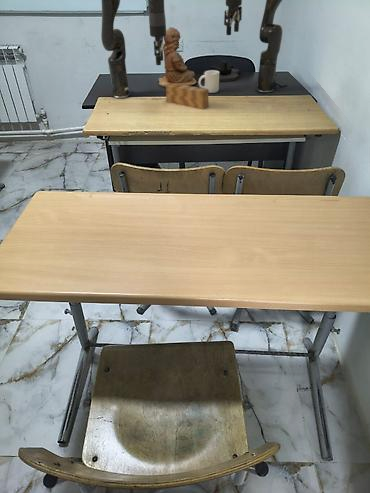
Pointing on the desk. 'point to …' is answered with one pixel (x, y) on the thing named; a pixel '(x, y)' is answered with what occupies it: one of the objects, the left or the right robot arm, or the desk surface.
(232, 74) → the abstract sculpture
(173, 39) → the sculpture
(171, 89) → the bar
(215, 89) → the mug
